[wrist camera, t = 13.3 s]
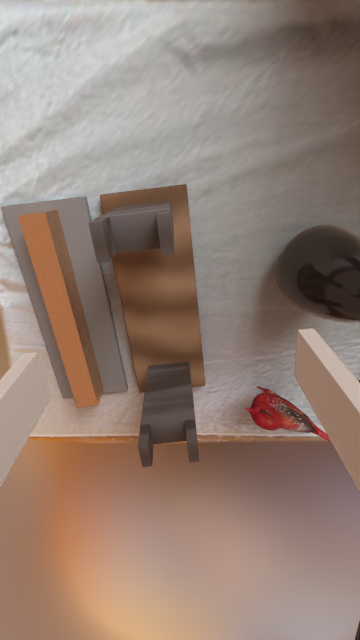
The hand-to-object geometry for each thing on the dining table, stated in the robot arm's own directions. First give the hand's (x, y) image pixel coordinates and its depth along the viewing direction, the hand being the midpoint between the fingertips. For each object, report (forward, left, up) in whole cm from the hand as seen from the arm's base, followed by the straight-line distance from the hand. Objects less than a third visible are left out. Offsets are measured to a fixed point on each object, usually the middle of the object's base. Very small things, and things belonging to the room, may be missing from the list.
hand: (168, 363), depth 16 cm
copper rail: (+6, -14, -26) cm, 30 cm away
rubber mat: (+6, -14, -27) cm, 31 cm away
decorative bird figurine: (+25, +15, -27) cm, 40 cm away
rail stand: (+6, -2, -27) cm, 27 cm away
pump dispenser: (+3, +18, -27) cm, 32 cm away
